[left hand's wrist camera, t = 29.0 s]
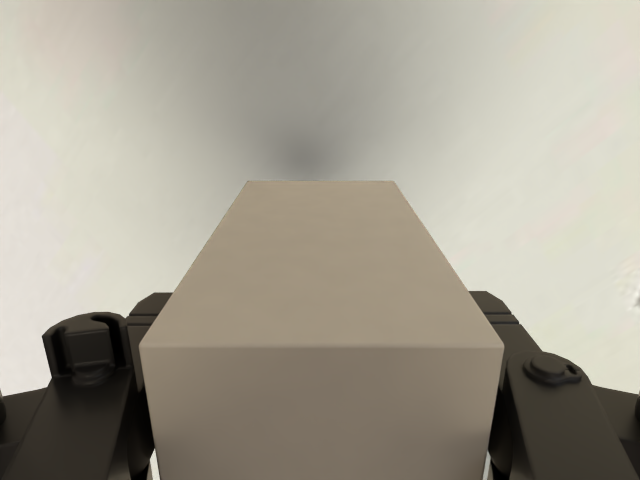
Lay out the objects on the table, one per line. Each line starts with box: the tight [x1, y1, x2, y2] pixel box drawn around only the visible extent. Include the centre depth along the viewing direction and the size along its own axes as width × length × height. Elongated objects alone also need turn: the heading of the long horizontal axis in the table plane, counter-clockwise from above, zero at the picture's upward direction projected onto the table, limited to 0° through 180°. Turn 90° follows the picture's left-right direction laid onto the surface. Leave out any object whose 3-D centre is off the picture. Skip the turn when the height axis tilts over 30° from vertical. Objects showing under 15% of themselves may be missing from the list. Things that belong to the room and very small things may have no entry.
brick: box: [139, 181, 504, 480], centre depth 11 cm, size 5×5×9 cm
